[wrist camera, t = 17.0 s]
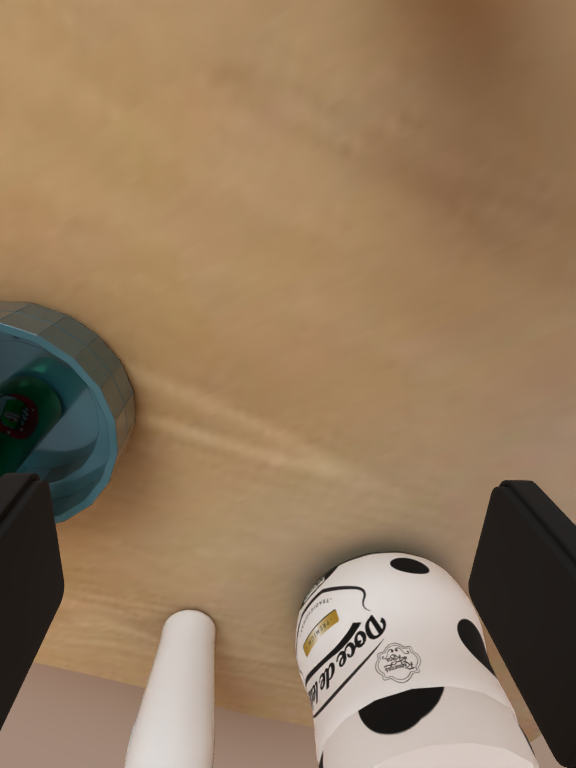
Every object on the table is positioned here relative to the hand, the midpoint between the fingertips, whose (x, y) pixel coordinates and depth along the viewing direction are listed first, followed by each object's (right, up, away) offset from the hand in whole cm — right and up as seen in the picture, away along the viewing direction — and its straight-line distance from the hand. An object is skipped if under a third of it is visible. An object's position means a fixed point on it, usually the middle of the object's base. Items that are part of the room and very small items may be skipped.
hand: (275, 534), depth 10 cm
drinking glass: (-10, -22, +39) cm, 46 cm away
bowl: (-20, +2, +28) cm, 35 cm away
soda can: (-20, +2, +28) cm, 35 cm away
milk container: (+9, -19, +39) cm, 45 cm away
